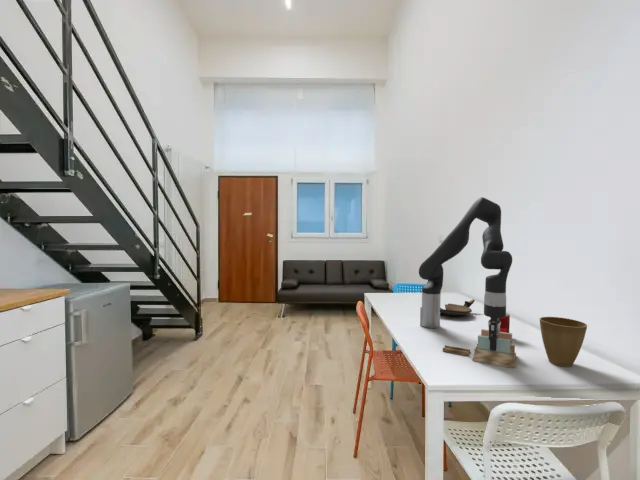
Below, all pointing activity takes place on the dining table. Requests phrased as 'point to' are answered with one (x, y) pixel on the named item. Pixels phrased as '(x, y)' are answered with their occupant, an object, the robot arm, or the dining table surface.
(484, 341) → the green plate
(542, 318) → the plant pot
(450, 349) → the stand rails
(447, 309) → the oil lamp
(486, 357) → the rack
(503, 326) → the canned food
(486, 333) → the pink rectangular slab
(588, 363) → the dining table surface
